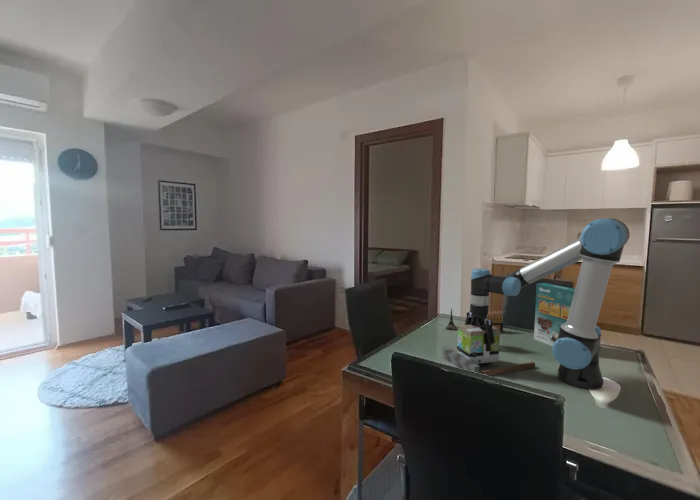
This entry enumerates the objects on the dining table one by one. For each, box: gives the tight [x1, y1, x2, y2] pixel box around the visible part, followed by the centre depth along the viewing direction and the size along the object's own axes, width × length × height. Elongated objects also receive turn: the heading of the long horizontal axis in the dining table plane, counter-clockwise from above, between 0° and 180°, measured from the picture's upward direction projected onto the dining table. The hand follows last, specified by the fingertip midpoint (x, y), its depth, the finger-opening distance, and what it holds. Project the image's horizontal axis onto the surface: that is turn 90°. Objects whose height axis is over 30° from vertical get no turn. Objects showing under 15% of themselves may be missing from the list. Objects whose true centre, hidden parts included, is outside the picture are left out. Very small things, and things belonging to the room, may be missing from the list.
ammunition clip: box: [487, 310, 504, 333], centre depth 194 cm, size 11×2×12 cm, turn 96°
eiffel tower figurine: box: [440, 308, 458, 332], centre depth 198 cm, size 15×10×13 cm
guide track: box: [442, 346, 536, 377], centre depth 153 cm, size 22×32×5 cm
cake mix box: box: [533, 282, 575, 347], centre depth 172 cm, size 22×6×30 cm, turn 22°
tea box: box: [456, 324, 501, 365], centre depth 151 cm, size 15×10×15 cm, turn 106°
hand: (477, 353), depth 151 cm, fingers closed on tea box, 10 cm apart
